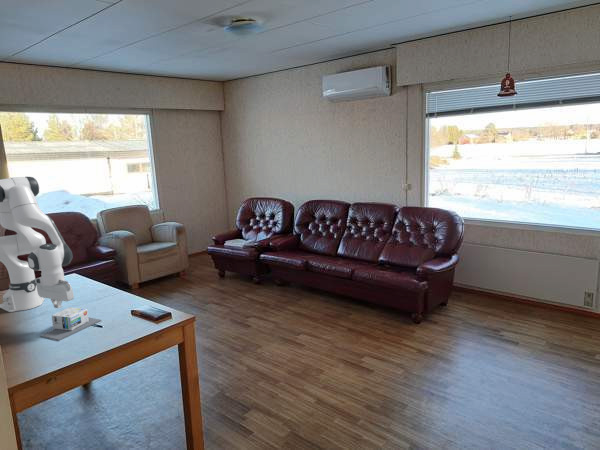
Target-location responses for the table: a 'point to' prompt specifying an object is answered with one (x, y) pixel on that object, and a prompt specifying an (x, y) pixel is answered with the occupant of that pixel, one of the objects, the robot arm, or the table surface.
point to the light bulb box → (70, 318)
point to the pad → (61, 334)
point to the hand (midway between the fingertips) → (57, 307)
